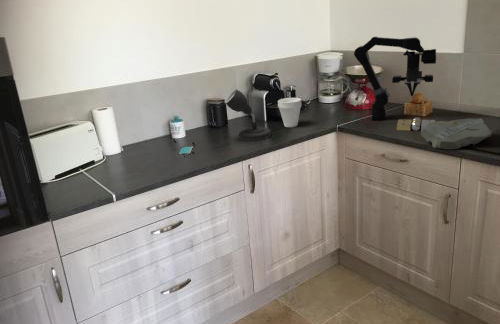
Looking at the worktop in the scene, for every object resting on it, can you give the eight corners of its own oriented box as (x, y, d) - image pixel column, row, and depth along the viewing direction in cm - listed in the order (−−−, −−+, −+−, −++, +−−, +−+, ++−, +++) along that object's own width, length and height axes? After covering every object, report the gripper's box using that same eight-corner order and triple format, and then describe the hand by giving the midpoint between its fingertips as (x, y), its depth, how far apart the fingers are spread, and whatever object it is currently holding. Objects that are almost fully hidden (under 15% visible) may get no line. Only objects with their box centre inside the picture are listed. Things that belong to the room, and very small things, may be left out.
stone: (435, 140, 167) (414, 121, 185) (434, 159, 171) (414, 138, 189) (506, 130, 167) (479, 111, 185) (503, 149, 171) (476, 129, 189)
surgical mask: (171, 139, 207) (192, 135, 210) (173, 147, 208) (193, 144, 211) (180, 150, 188) (202, 146, 191) (181, 159, 190) (203, 155, 193)
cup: (286, 129, 220) (284, 103, 215) (275, 125, 231) (273, 100, 226) (306, 125, 224) (305, 99, 220) (295, 121, 235) (293, 96, 231)
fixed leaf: (411, 130, 200) (411, 123, 199) (412, 124, 209) (412, 117, 208) (434, 131, 196) (435, 123, 195) (434, 124, 205) (435, 117, 204)
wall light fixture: (222, 89, 211) (262, 82, 213) (230, 137, 220) (268, 130, 221) (224, 94, 197) (267, 87, 198) (232, 145, 205) (273, 138, 206)
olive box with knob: (396, 130, 202) (396, 122, 201) (398, 124, 212) (398, 117, 211) (419, 130, 198) (420, 123, 197) (420, 124, 208) (420, 117, 207)
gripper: (391, 67, 206) (390, 99, 211) (433, 66, 199) (432, 99, 204) (393, 64, 216) (392, 95, 221) (433, 62, 209) (432, 94, 214)
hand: (411, 96), depth 215 cm, fingers closed
